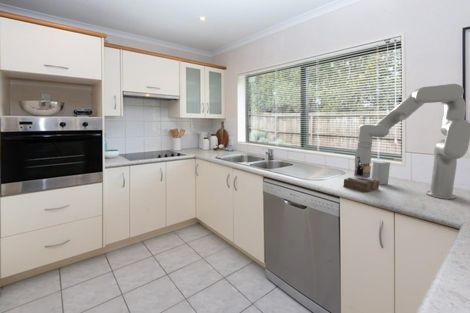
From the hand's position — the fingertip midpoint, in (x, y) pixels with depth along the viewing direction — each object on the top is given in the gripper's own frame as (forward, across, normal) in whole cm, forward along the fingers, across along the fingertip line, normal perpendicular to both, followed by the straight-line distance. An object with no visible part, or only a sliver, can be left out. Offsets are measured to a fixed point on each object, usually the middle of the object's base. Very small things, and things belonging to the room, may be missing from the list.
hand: (362, 174), depth 151 cm
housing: (+1, 0, 0) cm, 1 cm away
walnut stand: (+9, 0, 0) cm, 9 cm away
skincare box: (+9, -21, 0) cm, 23 cm away
